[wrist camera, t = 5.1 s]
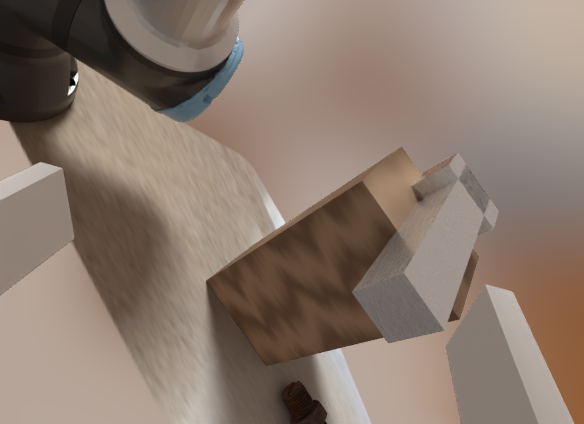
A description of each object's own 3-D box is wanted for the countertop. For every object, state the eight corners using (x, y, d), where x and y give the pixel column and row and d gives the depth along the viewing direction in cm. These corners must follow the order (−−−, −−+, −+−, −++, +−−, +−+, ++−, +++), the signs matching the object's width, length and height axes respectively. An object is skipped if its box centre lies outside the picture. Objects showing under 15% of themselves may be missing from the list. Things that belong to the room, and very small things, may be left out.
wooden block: (206, 280, 48) (362, 180, 29) (254, 244, 56) (401, 146, 37) (266, 365, 48) (459, 319, 30) (306, 317, 56) (478, 256, 38)
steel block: (338, 272, 23) (388, 251, 20) (422, 172, 38) (457, 152, 35) (401, 362, 23) (459, 352, 20) (460, 227, 38) (498, 211, 35)
